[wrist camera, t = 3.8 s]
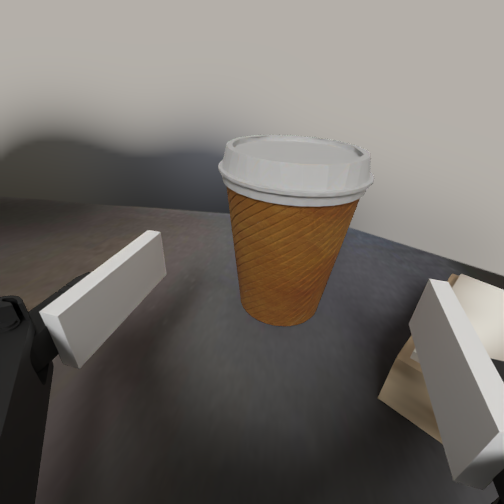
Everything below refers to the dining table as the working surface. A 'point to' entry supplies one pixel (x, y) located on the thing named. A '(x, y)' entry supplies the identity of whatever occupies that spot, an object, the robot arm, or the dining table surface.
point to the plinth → (408, 366)
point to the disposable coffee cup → (290, 218)
